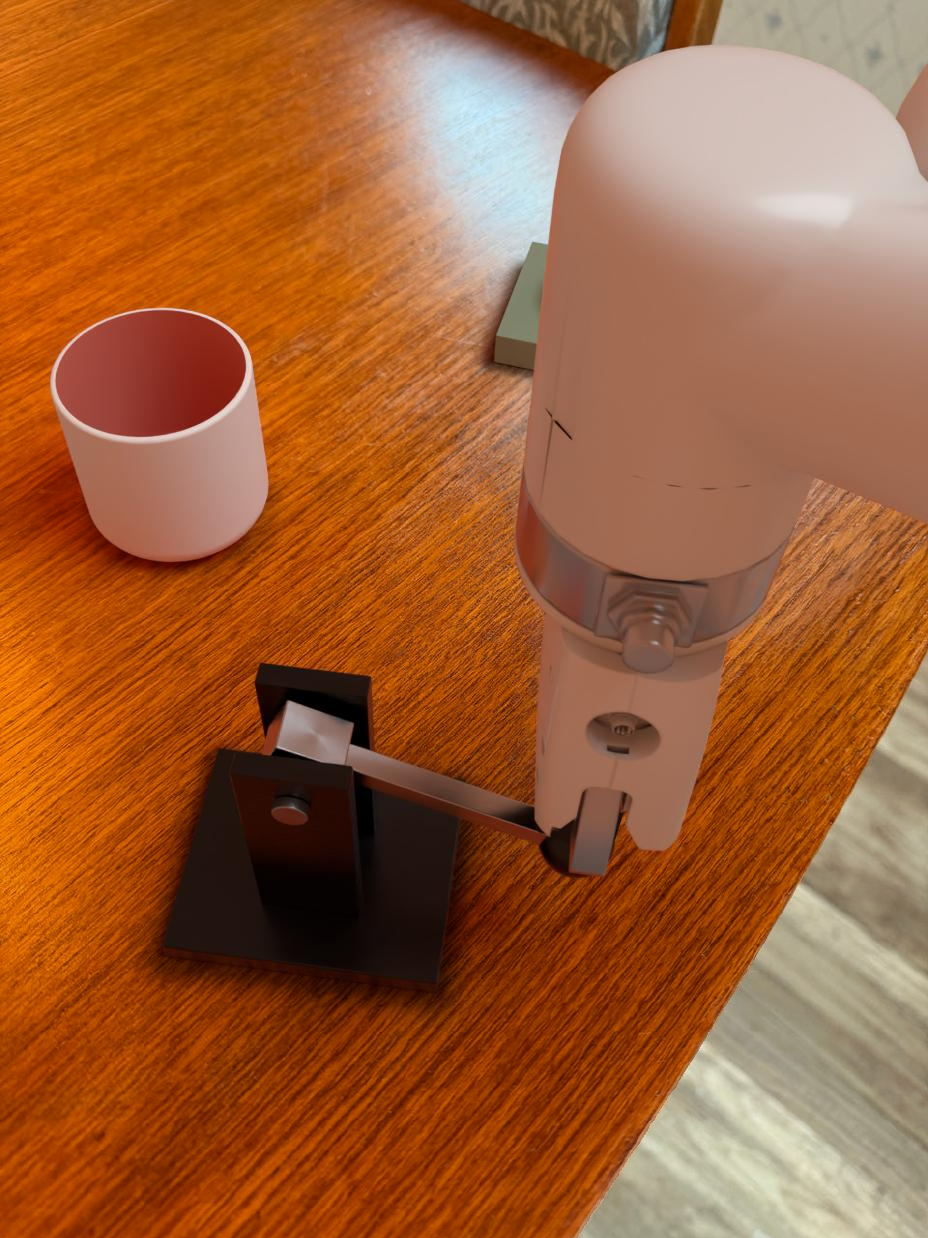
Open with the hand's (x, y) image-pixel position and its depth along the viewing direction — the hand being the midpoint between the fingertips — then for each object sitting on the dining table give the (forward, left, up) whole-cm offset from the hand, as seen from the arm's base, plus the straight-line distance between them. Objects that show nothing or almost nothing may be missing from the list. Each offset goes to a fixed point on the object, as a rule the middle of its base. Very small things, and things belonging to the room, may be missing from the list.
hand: (575, 820), depth 48 cm
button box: (+6, -40, -8) cm, 41 cm away
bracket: (+11, +1, -8) cm, 13 cm away
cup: (+26, -18, -8) cm, 32 cm away
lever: (+6, +1, -1) cm, 6 cm away
